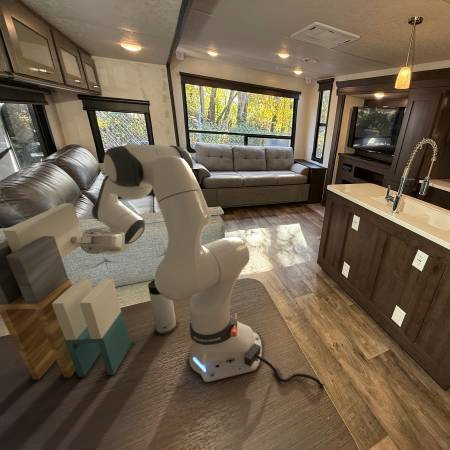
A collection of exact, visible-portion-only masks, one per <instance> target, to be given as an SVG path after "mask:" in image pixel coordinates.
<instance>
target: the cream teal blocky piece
mask: <svg viewBox="0 0 450 450" xmlns="http://www.w3.org/2000/svg"><path fill="white" fill-rule="evenodd" d="M52 306H53V309H54V311H55V314H56V316H57V319H58V321H59V324H60V327H61V329H62V332H63V334H64V337H65V340H64V341H65V344H66V346H67V349H68V351H69V354H70V356H71V359H72V361H73V364H74V366H75V369H76V370H75V372H76V374H77V376H78V377H85V376H86V375H87V373H88V372H89V370H90V369H91V368H92V366H93V365H94V363H95V361H96V360H97V359H98V358H99V356H100V355H101V356H102V360H103V363H104V366H105V369H106V372H107V373H106V374H107V375H109V376H110V375H115V373H116V372H117V370H118V368H119V366H120V365H121V363H122V361H123V360H124V358H125V356H126V355H127V353H128V351H129V349H130V347H131V346H132V345H131V344H132V343H131V340H130V337H129V331H128V328H127V324H126V321H125V316H124V312H123V311H122V309H121V305H120V302H119V298H118V293H117V290H116V285H115V281H114V278H111V277H110V278H109V277H108V278H107V277H105V278H102V279H101V280H100V282H98V283H97V285H95V286H94V287H93V285H92V283H91V280H90V278H79V279H77V280H76V281H75V282H74V283H72V286H71V287H70V288H69V289H67V290H66V291H65V292H64V293H63V294H62V295H61V296H60V297H58V298H57V299H56V300H55V301H54V302H53V303H52Z"/></svg>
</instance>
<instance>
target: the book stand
mask: <svg viewBox="0 0 450 450" xmlns="http://www.w3.org/2000/svg"><path fill="white" fill-rule="evenodd" d="M72 285H73V283H72V280H71V279H70V278H69V276H68V273H67V271H66V268H65V265H64V261H63V258H61V255H60V252H59V249H58V246H57V243H56V241H55V238H54V236H43V237H41V238H39V239H37V240H35V241H33V242H32V243H30V244H28V245H26V246H24V247H22V248H21V249H19V250H17V251H15V252H13V253H12V251H11V248H10V246H9V244H8V241H7V239H6V240H4V241H1V242H0V317H1V319H2V321H3V323H4V325H5V327H6V329H7V331H8V333H9V336H10V337H11V339H12V341H13V343H14V346H15V347H16V349H17V351H18V353H19V355H20V357H21V358H22V361H23V363H24V365H25V367H26V368H27V371H28V373H29V375H30V377H31V379H32V380H40V379H41V377H43V376H44V374H45V373H46V372H47V371H48V370H49V368H50V367H51V366H52V365H53V364H54V363H55V361H56V362H57V364H58V366H59V369H60V371H61V373H62V376H63V378H71V377H72V376H73V375H74V373H75V372H76V369H75V366H74V364H73V361H72V359H71V356H70V354H69V351H68V349H67V346H66V344H65V341H64V340H65V337H64V334H63V332H62V329H61V327H60V324H59V321H58V319H57V316H56V314H55V311H54V309H53V306H52V303H53V302H54V301H55V300H56V299H57V298H58V297H60V296H61V295H62V294H63V293H64V292H65V291H66V290H67V289H69V288H70V287H71V286H72Z"/></svg>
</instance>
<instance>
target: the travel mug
mask: <svg viewBox="0 0 450 450" xmlns="http://www.w3.org/2000/svg"><path fill="white" fill-rule="evenodd" d="M147 287H148V293H149V300H150V305H151V310H152V315H153V321H154V327H155V331H156V332H157V333H158V334H161V335H162V334H169V333H171V332H172V331H173V330H174V329H175V328H176V326H177V321H176V314H175V308H174V307H175V306H174V301H172V300H169V299H167V298H165V297H164V296H162V295H161V294H160V293H159V291H158V290H157V288H156V285H155V278H154V279H152V280H151V281H150V282H148V284H147Z"/></svg>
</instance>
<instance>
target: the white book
mask: <svg viewBox="0 0 450 450" xmlns="http://www.w3.org/2000/svg"><path fill="white" fill-rule="evenodd" d="M77 214H78V213H77V211H76V208H75V204H74V203H71V202H63V203H62V204H59V205H56V206H55V207H53V208H50V209H48V210H46V211H43V212H41V213H39V214H36V215H35V216H31V217H30V218H28V219H25V220H22V221H21V222H18V223H16V224H14V225H12V226H10V227H8V228H5V229H3V230H2V232H3V234H4V237H5V239H6V240H7V241H8V244H9V246H10V248H11V251H12V253H13V252H15V251H17V250H19V249H21V248H22V247H24V246H26V245H28V244H30V243H32V242H33V241H35V240H37V239H39V238H41V237H43V236H54V238H55V241H56V243H57V246H58V249H59V252H60V255H61V258H62V259H63V258H65V257H66V256H68V255H69V254H71V253H72V252H73V251H75V250H76V249H78V248H79V247H81V246H80V245H82V244H83V243H73V242H71V240H72V239H71V238H72V237H83V235H82V234H83V231H82V228H81V225H80V220H79V218H78V215H77Z"/></svg>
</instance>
